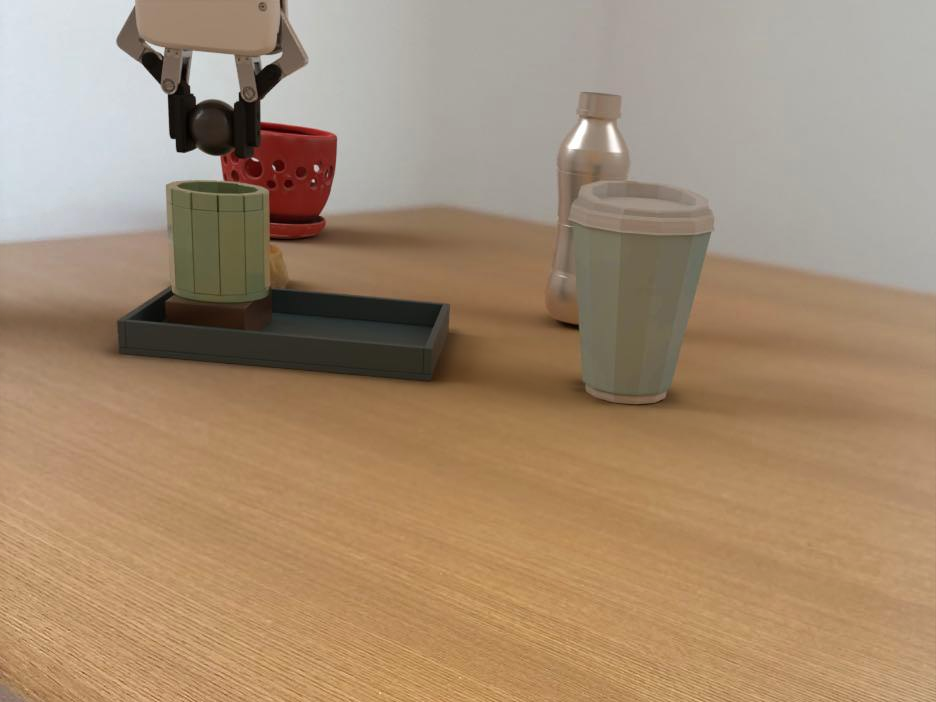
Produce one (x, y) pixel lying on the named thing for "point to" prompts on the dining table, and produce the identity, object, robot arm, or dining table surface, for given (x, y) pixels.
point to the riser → (220, 313)
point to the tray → (304, 335)
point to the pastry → (277, 268)
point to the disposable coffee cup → (636, 283)
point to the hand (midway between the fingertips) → (215, 151)
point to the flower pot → (289, 176)
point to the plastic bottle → (579, 163)
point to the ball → (212, 127)
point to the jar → (218, 240)
